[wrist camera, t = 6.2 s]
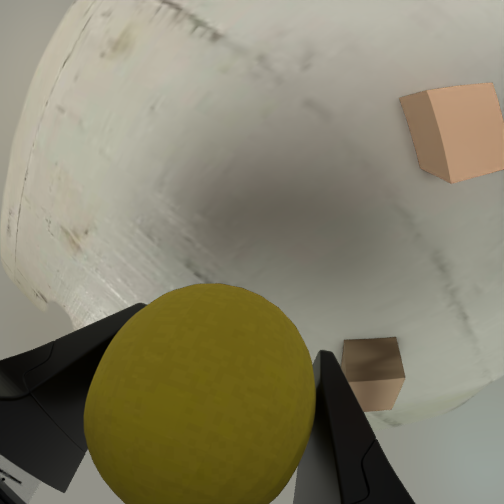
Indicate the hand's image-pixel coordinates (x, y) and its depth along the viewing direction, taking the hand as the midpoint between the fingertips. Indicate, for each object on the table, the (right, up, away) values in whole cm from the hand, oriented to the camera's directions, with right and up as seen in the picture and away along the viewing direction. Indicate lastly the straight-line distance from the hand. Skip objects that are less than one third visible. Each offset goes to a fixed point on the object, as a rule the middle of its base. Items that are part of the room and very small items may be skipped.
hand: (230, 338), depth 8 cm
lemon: (0, +1, +2) cm, 2 cm away
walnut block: (+12, -7, +15) cm, 20 cm away
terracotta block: (+13, +11, +5) cm, 18 cm away
